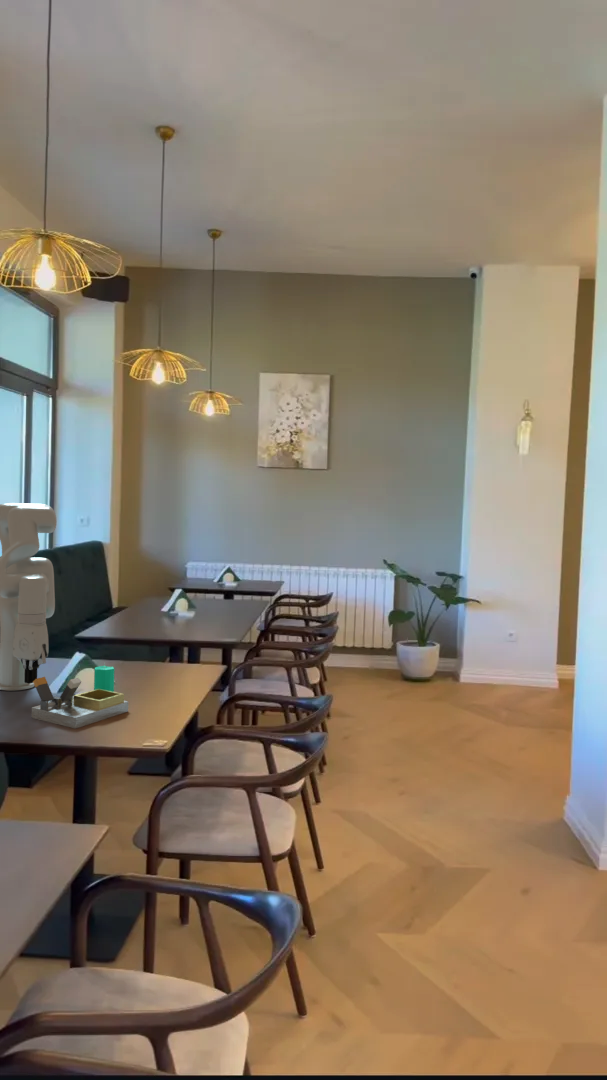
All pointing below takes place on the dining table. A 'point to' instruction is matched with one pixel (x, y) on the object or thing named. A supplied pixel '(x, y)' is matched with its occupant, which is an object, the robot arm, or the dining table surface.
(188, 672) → the dining table surface
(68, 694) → the block
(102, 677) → the candle
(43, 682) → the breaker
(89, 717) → the panel
